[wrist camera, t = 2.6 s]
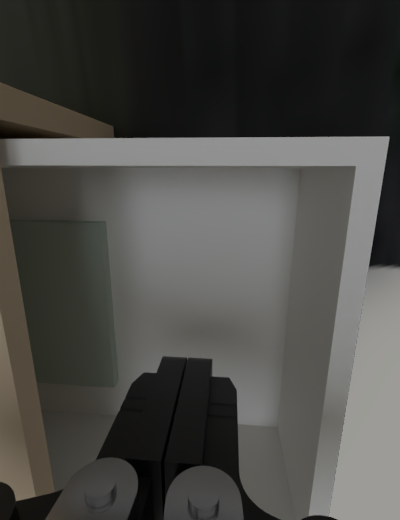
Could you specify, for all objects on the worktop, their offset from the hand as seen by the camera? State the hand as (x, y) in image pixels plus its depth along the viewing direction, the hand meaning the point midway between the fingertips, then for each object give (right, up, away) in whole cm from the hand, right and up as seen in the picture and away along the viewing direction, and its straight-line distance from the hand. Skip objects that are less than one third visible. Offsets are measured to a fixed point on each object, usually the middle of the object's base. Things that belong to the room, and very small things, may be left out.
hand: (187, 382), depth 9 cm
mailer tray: (-5, +2, +6) cm, 7 cm away
